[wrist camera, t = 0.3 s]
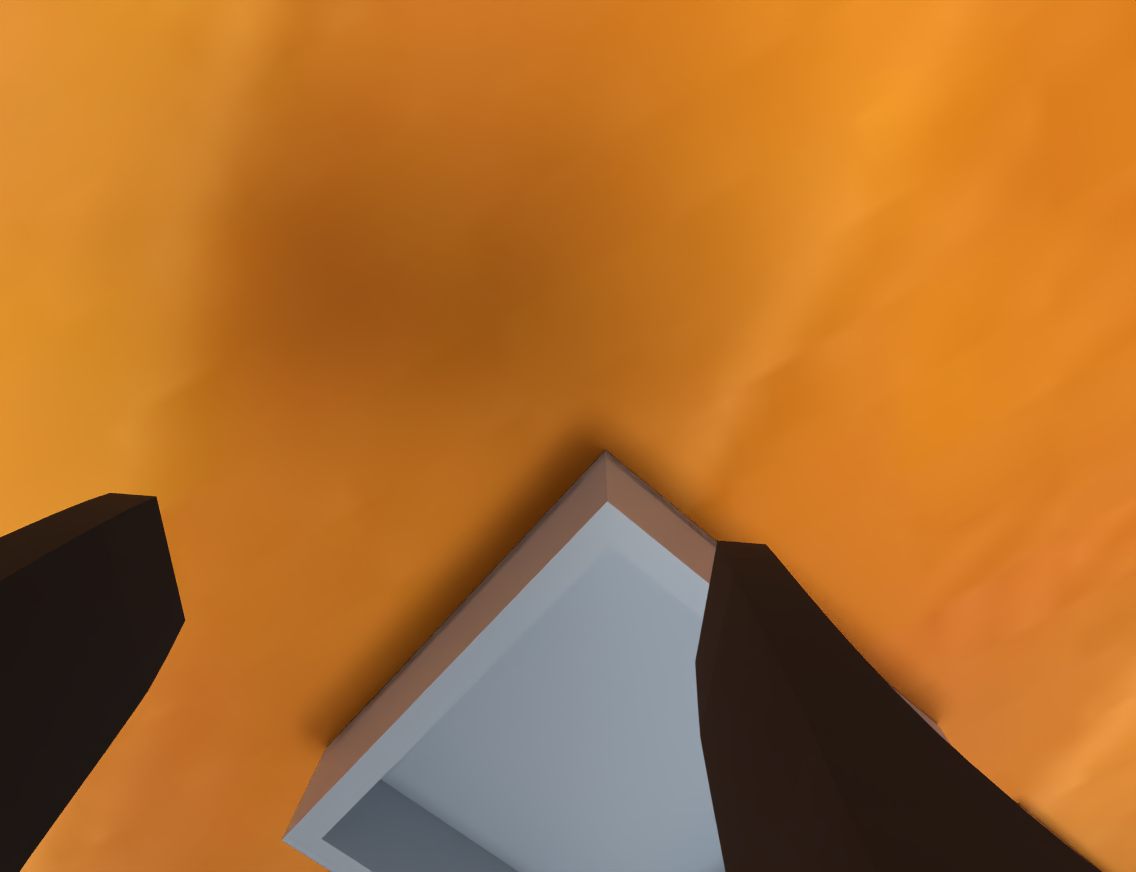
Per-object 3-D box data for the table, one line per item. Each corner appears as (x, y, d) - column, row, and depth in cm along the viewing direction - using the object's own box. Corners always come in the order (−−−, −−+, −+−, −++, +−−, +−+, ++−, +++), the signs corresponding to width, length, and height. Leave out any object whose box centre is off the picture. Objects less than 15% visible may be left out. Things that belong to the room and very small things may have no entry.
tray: (639, 958, 26) (645, 1070, 23) (325, 749, 24) (281, 840, 20) (938, 725, 23) (997, 817, 19) (605, 449, 20) (607, 501, 17)
